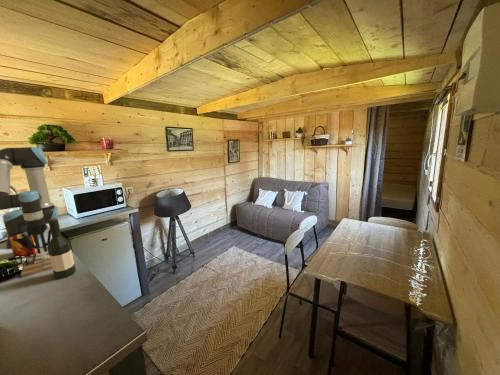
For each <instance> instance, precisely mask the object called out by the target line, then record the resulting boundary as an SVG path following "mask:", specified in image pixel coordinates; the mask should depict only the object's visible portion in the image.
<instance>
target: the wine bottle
mask: <svg viewBox="0 0 500 375" xmlns="http://www.w3.org/2000/svg"><path fill="white" fill-rule="evenodd" d="M48 222H49V224H48V227H50V231H51V238H50V243H49V245H47V246H46V247H47V249H48V253H49V257H50V261H51V265H52V269H51V270H52V273H53V277H54V278H55V279H56V280H62V279H66V278H69V277H71V276H73V275H74V274H75V273H76V271H77V270H76V265H75V264H76V263H75V260H74V256H73V250H72V246H71V242H70V240H68V239H67V238H66V237H64V236H63V235H62V232H61V228H60V223H59V219H58V220H57V219H56V218H52V219H50V220H49V221H48Z"/></svg>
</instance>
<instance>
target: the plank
mask: <svg viewBox="0 0 500 375" xmlns="http://www.w3.org/2000/svg"><path fill="white" fill-rule="evenodd" d="M45 254H46V258H44V259H42V256H41V253H40V254H38V251H37V252H36V254H35V258H34V262H33V264H36V263H39V262H43V261H46V260H50V257H49V253H48V249H47V252H45Z"/></svg>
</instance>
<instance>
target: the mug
mask: <svg viewBox="0 0 500 375" xmlns="http://www.w3.org/2000/svg"><path fill="white" fill-rule="evenodd" d="M28 236H29V238H30V239H31V240H32V242H33V243H34V245H35V246H36V244H35V242H34V238H33V235H31V234H29V233H28ZM9 240H10V243H11V247H12V248H11V250H12V254H13V257H14V256H19V257H21V256H26V257H25V258H27V257H30V256H32V255H33V256H36V254H37V249H36V248H34V249H32V248H31V247H30V245H29V244H28V242H27V241H26V239H25V238H24V237H22V236H21V234H19V235H15V236H13V237H11V238H9Z"/></svg>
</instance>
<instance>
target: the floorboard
mask: <svg viewBox="0 0 500 375" xmlns="http://www.w3.org/2000/svg"><path fill="white" fill-rule="evenodd" d="M49 270H53V269H52V265H51V261H50V260H46V261H43V262H39V263H36V264H34V263H32V264H29V265H25V266H23V267H22V270H21V272H20V278H26V277H28V276H32V275H36V274H39V273H42V272H45V271H49Z"/></svg>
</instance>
